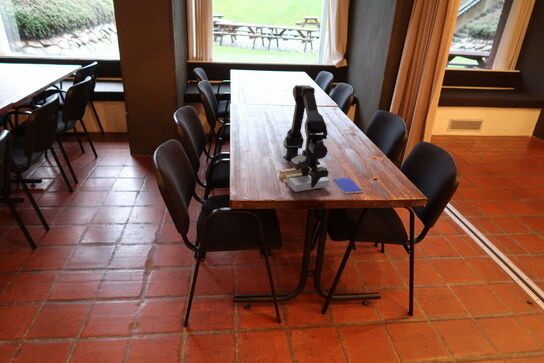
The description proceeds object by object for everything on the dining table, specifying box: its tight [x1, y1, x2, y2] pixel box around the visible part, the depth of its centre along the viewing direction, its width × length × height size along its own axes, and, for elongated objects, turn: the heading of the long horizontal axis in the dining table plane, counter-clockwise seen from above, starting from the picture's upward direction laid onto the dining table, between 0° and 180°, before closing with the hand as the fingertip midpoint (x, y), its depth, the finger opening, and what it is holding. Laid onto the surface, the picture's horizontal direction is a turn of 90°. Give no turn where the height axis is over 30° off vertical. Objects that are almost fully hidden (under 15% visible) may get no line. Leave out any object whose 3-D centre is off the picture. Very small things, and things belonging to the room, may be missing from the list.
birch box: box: [278, 165, 328, 186], centre depth 163 cm, size 9×19×6 cm, turn 115°
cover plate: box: [287, 175, 330, 192], centre depth 153 cm, size 6×16×3 cm, turn 115°
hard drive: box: [333, 177, 364, 195], centre depth 159 cm, size 2×8×12 cm
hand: (308, 184), depth 153 cm, fingers closed on cover plate, 6 cm apart
